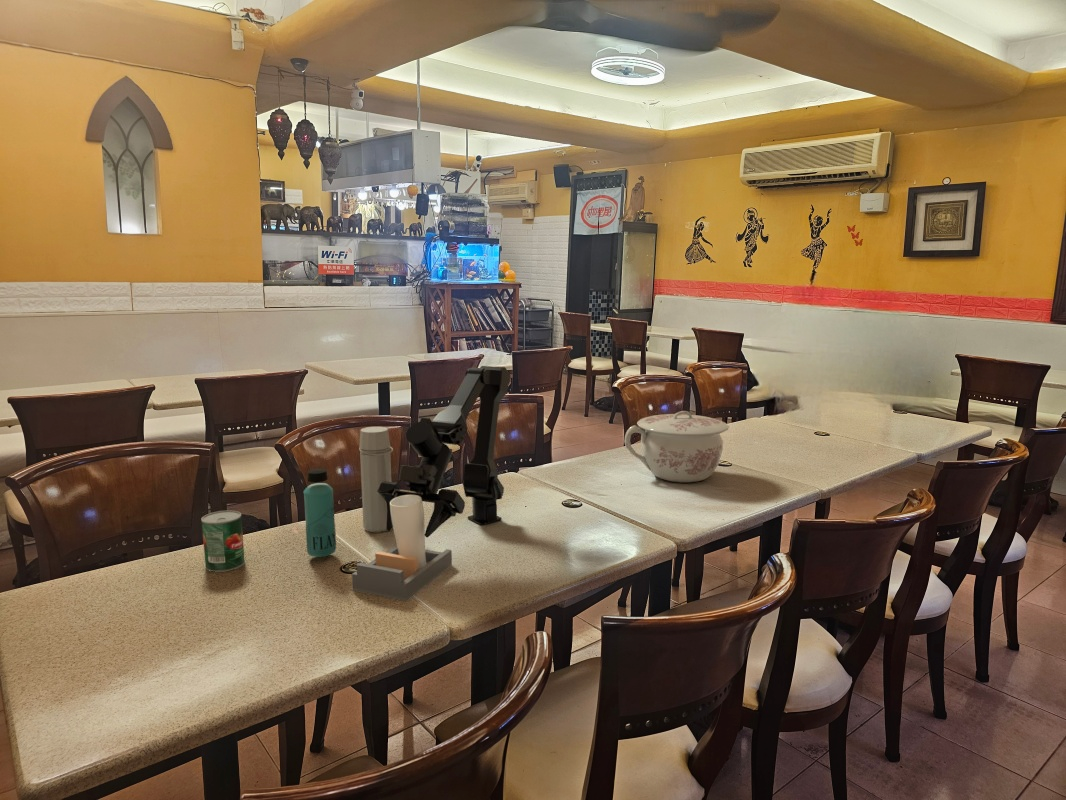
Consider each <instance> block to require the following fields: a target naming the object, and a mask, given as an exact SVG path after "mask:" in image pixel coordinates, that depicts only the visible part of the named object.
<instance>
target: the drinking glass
mask: <svg viewBox="0 0 1066 800" xmlns="http://www.w3.org/2000/svg"><path fill="white" fill-rule="evenodd" d="M423 502H424V501H422V498H421V497H420V496H418V495H403V496H399V497H396V498H394V499H392V500H391V501H390V512H391V520H392V525H393V528H392V529H393V534H394V538H395V543H396V545H397V548H398V553H399V555H402V556H408V557H414V558H417V561H418V570H419V569H420V568H422V567H423V566H425V565H426V556H425V550H426V536H425V532H426V528H425V511H424V503H423Z"/></svg>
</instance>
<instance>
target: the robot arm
mask: <svg viewBox="0 0 1066 800" xmlns="http://www.w3.org/2000/svg"><path fill="white" fill-rule="evenodd" d="M511 376H512V375H511V373H510V372H509V371H508V370H507V368H506V367H505V366H489V365H481V366H480V367H470V368H467V369H466V371H465V376H464V379H463V380H462V381H461V384H460V385H459V387H458V389H457V390H456V393H454V394H455V395H454V396H453V398H452V399H451V401H450V403H449V405H448V406H447V407H446V408H445V409H443V410H442V411H441V410H440V412H438V413H437V415H436V416H435V417H434V418H433V420H432V419H431V418H430V417H420V420H419V421H418V422H415V423H413V424H412V425H411V426H410V427H409V428H407V430H406V433H405V438H406V441H407V442H408V443H409V444H410V446H411V447H412V448H413V449H414V451H415V452H416V453H417V454H418V456H420V457H422V458H421V460H420V463H419V464H415V465H414V466H412V465H411V466H410V465H403V464H402V465H401V466H400V471H399V475H398V481H400V482H401V481H403V482H405V486H406V487H407V488H409V489H404V488H403V487H402V486H401V485H400V483H398V482H395V481H394V482H393V481H391V482H387V481H384V482H382V483H381V484H380V485H379V488H378V490H377V492H378V493H379V494H380V495H381V496H382V498H383V499H384V500H385V501H386V504H387V526H386V529H387V530H386V531H387V532H391V531H392V529H393V525H392V520H391V512H390V501H391V500H392V499H394V498H396V497H399V496H403V495H418V496H420V497H421V498H422V502H426V503H432V504H433V512H432V514H431V516H430V519H429V520H428V524H427V526H426V528H425V538H429V537H430V536H431V535H432V534H433V533H434V532H435V531H437V529H438V528H439V527H441V526H442V525H443V524H444V523H446V522H447V521H448V520H449V519H450V518H451V517H456V516H457V514H460V515H461V514H463V512H464V510H465V507H466V503H465V500H464V499H463V498H462V496H461V495H460V493H459V492H458V491H457V490H454V489H449V488H447V489H446V488H441V489H440V487H441V485H442V484H445V482H446V479H445V478H444V476H445V473H446V471H447V468H448V466H449V463H450V461H451V462H454V461H455V455H454V453H453V449H452V448H449V446H448V445H452V446H453V445H454V446H456V445H460V444H462V442H463V441H464V439H465V437H466V432H467V431H468V423H467V419H468V417H469V415H470V413H471V412H472V409H473V407H474V406H475V403H476V402H477V400H478V398H479V399H480V402H479V410H478V418H477V427H476V433H475V436H476V437H475V443H474V453H473V458H471V460H470V461H469V462H466V463H465V465H464V471H463V476H462V486H463V487H462V488H463V491H464V495H465V497H466V498H472V499H471V500H472V501H471V502H472V515H468V516H467V519H468V520H470V521H472V522H474V523H476V524H478V525H480V526H484V525H487V524H491V523H494V522H500V521H502V517H501V516H499V515H498V504H497V500H502V499H503V496H504V492H505V491H504V489H505V488H504V485H503V484H502V482H501V481H500V479H499V478H498V477H499V469H498V468H497V465H496V463H495V461H494V451H495V444H496V436H497V435H496V434H497V426H498V418H499V411H500V403H501V401H502V400H503V398H505V396H506V394H508V389H509V385H510V383H511V380H512V379H511Z"/></svg>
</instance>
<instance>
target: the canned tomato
mask: <svg viewBox="0 0 1066 800" xmlns="http://www.w3.org/2000/svg"><path fill="white" fill-rule="evenodd" d="M200 520H201V530H202V531H201V533H202V540H203V552H204V553H203V554H204V563H205V567H206V568H205V567H204V568H205V570H206V569H207V570H206V571H208V570H210V571H209V572H211V571H215V572H214V573H224V572H223V571H226V572H230V571H229V570H231V571H234V570H237V569H239V568H242V567H243V566H244V565H245V563H246V559H245V548H244V536H243V535H244V534H243V532H244V531H243V522H242V521H243V520H242V513H241V512H240V511H237V510H218V511H214V512H210V513H208V514H205V515H203V516H202V517H201V518H200ZM242 565H243V566H242ZM233 569H234V570H233Z"/></svg>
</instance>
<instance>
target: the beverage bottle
mask: <svg viewBox="0 0 1066 800" xmlns="http://www.w3.org/2000/svg"><path fill="white" fill-rule="evenodd" d="M327 480H328V471H327V470H326V469H325V468H324V469H323V468H317V469H316V468H314V469H310V470H309V471H308V472H307V481H308V482H309V483H311V484H309V485H308V486H307V487H305V489H304V490H303V499H304V500H303V501H304V516H305V518H304V519H305V541H306V552H307V554H308V555H309V556H311V557H315V558H316V557H317V558H318V557H319V558H321V557H326V556H330V555H332V554H334V553H335V552H336V549H337V538H336V534H337V533H336V532H337V531H336V522H335V520H336V518H335V513H336V512H335V510H336V509H335V503H334V502H335V500H334V488H333V487H332V486H331V485H329V484H328V483H325V482H326V481H327Z"/></svg>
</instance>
